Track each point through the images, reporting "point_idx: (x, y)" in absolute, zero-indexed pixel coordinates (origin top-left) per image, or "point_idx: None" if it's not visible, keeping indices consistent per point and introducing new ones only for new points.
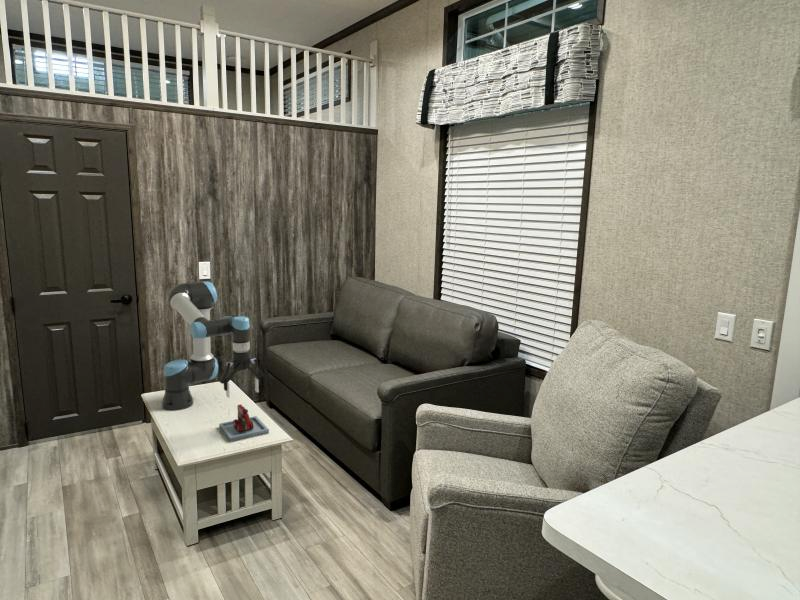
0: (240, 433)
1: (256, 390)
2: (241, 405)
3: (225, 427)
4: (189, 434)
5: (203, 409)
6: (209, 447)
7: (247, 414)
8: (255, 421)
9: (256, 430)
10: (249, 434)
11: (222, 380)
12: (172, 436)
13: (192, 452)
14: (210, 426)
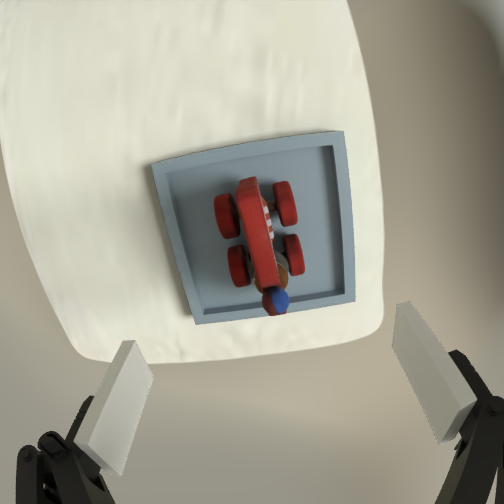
0: None
1: (398, 344)
2: (261, 223)
3: (181, 189)
4: (58, 199)
5: None
6: (133, 325)
7: (280, 314)
8: (329, 167)
9: (311, 269)
10: None
11: (57, 497)
12: (19, 201)
13: (93, 334)
14: (122, 139)
